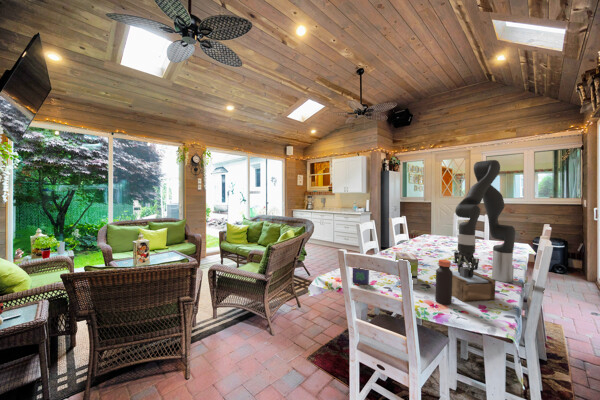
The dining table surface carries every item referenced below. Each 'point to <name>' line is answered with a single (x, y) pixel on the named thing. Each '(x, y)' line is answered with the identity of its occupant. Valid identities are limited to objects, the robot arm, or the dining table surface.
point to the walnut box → (473, 289)
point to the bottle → (444, 283)
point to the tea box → (413, 263)
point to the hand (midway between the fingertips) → (465, 274)
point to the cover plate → (471, 280)
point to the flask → (360, 276)
